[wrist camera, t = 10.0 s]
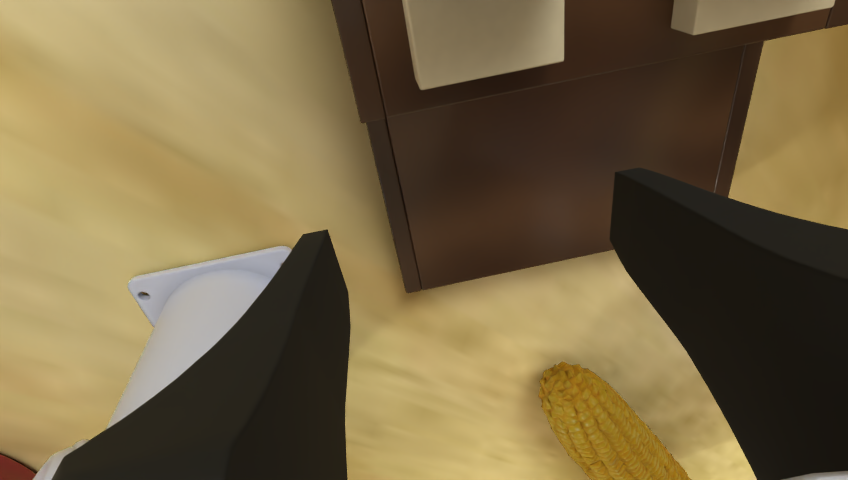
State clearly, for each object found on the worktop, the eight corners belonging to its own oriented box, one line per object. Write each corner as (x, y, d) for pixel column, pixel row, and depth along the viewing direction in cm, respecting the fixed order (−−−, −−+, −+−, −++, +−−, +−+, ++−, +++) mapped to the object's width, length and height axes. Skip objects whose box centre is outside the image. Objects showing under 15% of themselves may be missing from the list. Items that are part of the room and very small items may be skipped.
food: (683, 459, 40) (730, 535, 35) (623, 489, 41) (660, 565, 37) (571, 326, 29) (617, 407, 25) (496, 372, 31) (524, 457, 26)
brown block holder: (695, 205, 26) (772, 267, 21) (401, 267, 25) (414, 344, 21) (801, -362, 14) (1017, -497, 10) (277, -266, 14) (243, -360, 9)
